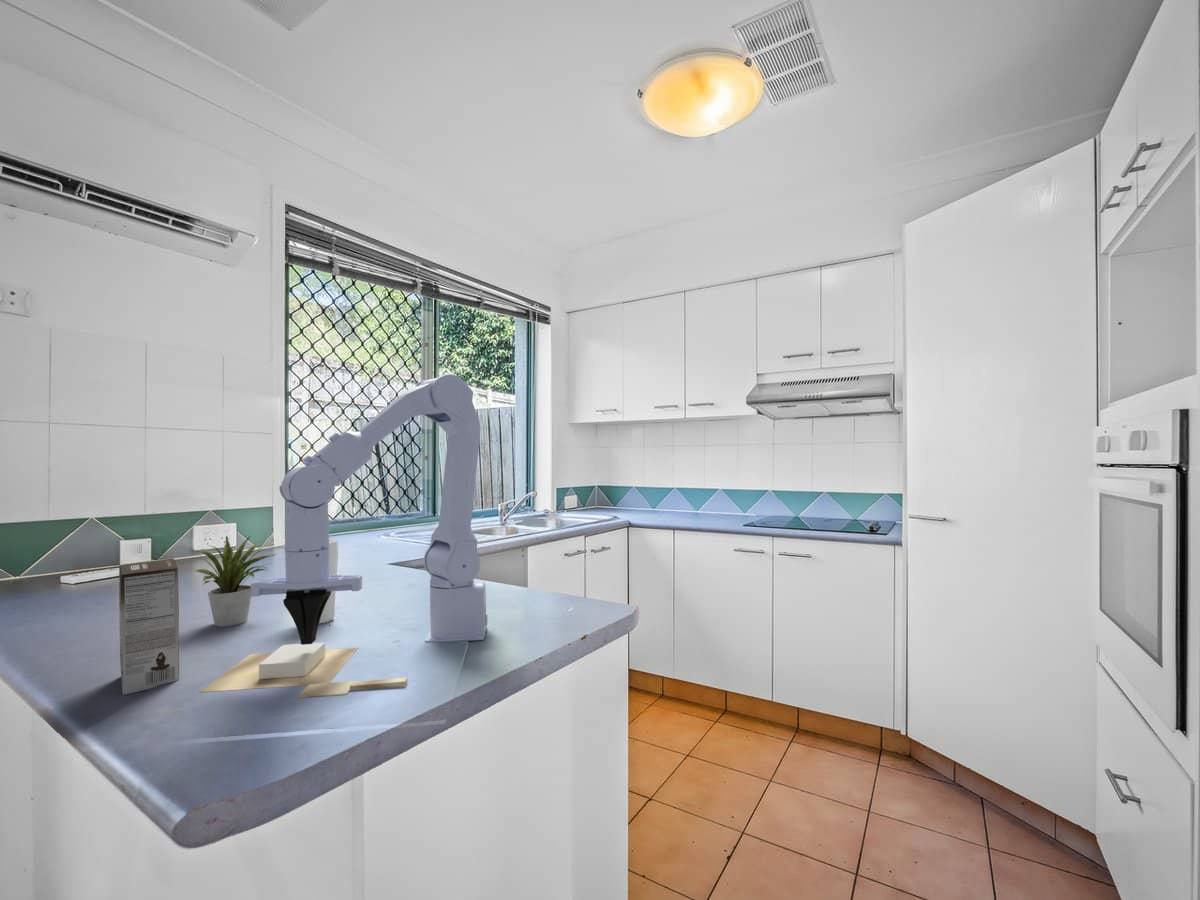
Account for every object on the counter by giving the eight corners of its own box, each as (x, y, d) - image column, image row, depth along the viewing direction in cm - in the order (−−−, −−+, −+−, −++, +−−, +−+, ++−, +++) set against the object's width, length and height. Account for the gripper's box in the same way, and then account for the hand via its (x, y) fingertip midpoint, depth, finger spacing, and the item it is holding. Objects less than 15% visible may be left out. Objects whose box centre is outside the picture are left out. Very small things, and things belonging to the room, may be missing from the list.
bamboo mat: (358, 650, 90) (358, 647, 90) (328, 686, 76) (328, 683, 76) (250, 656, 88) (250, 654, 88) (199, 695, 74) (199, 692, 74)
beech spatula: (409, 680, 78) (409, 673, 78) (403, 693, 74) (403, 685, 74) (308, 689, 76) (308, 681, 76) (297, 702, 72) (296, 694, 72)
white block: (325, 642, 87) (283, 644, 86) (305, 661, 79) (258, 664, 78) (325, 656, 86) (283, 658, 86) (305, 676, 79) (259, 679, 78)
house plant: (241, 636, 98) (240, 542, 98) (162, 637, 98) (161, 542, 98) (288, 613, 112) (287, 530, 112) (219, 613, 112) (218, 531, 112)
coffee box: (119, 676, 81) (118, 563, 81) (175, 664, 85) (174, 557, 85) (121, 696, 74) (119, 573, 74) (181, 682, 78) (180, 566, 78)
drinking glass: (307, 616, 109) (306, 539, 109) (344, 615, 110) (343, 538, 110) (291, 627, 103) (290, 544, 103) (330, 626, 103) (329, 543, 103)
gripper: (366, 542, 88) (367, 630, 88) (264, 546, 85) (265, 636, 85) (355, 550, 81) (356, 645, 81) (243, 554, 78) (244, 653, 78)
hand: (308, 642), depth 82 cm, fingers closed
